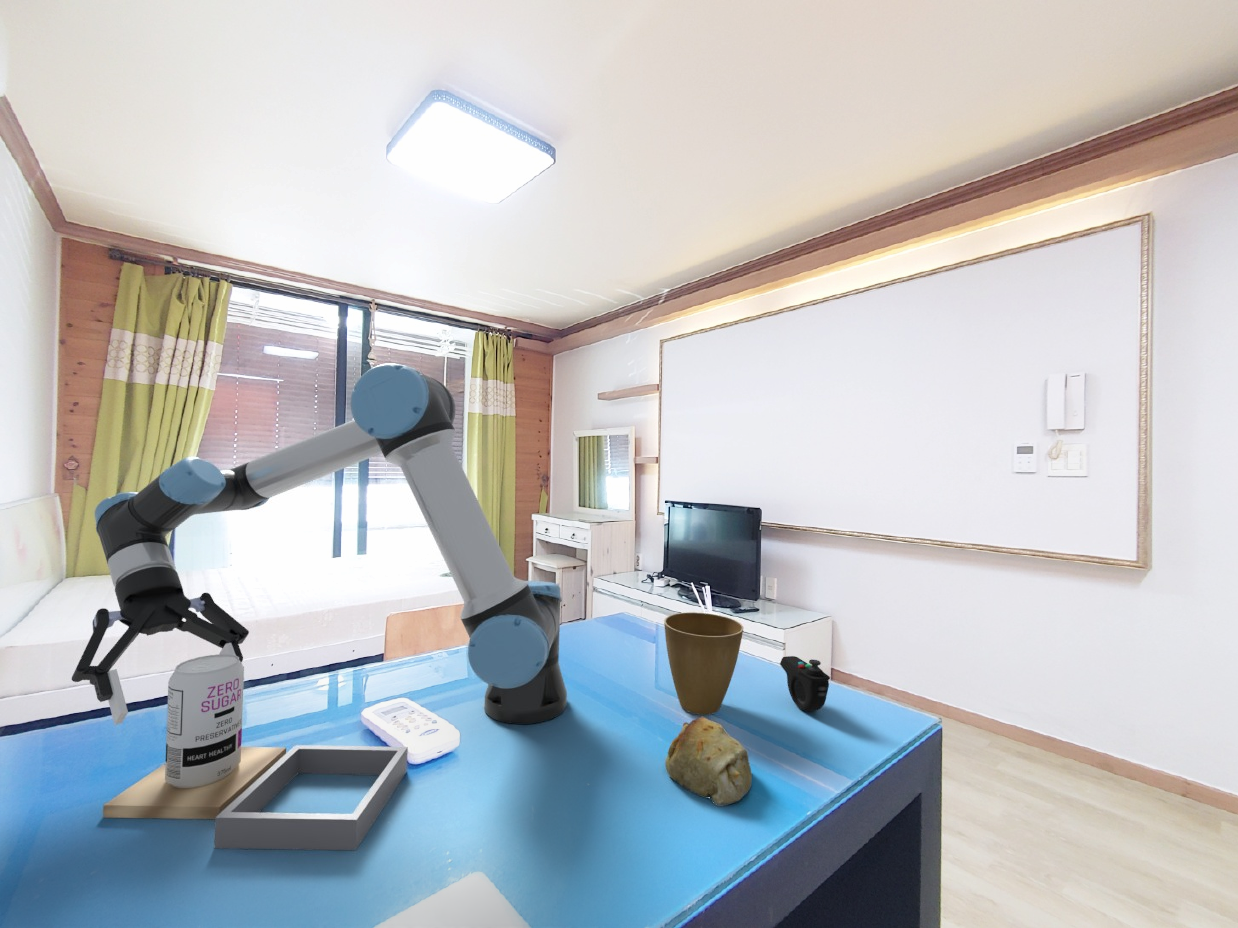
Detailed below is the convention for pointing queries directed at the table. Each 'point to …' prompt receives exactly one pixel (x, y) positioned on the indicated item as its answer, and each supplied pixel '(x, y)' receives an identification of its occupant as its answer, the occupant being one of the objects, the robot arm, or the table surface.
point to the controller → (806, 682)
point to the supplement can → (204, 720)
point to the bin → (311, 830)
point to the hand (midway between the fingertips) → (184, 700)
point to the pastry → (709, 762)
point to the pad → (191, 791)
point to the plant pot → (702, 658)
